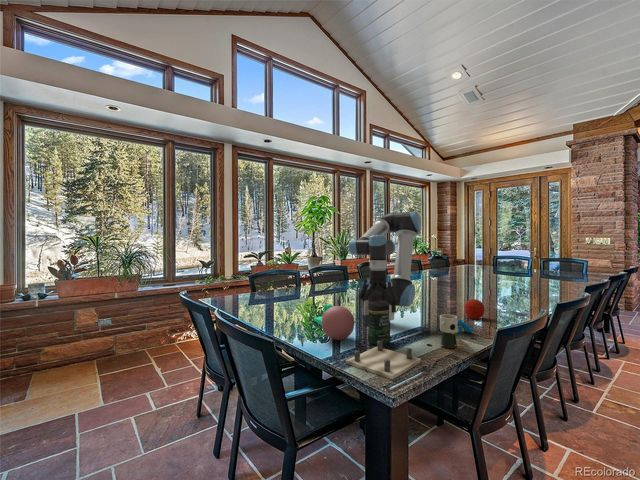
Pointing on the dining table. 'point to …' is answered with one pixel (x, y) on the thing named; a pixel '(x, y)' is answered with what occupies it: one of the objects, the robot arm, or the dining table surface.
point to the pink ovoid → (337, 322)
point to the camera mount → (318, 319)
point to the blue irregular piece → (463, 326)
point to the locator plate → (378, 362)
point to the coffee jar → (378, 322)
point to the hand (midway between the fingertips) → (378, 317)
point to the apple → (474, 309)
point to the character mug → (448, 330)
